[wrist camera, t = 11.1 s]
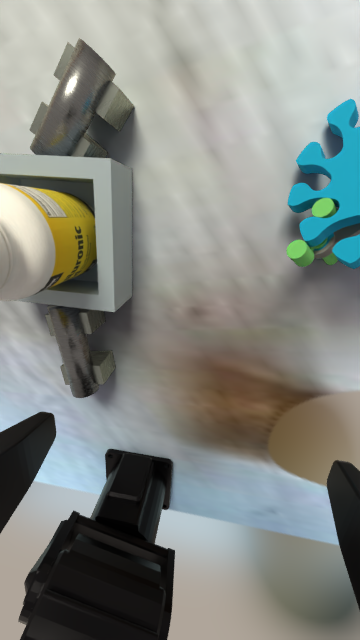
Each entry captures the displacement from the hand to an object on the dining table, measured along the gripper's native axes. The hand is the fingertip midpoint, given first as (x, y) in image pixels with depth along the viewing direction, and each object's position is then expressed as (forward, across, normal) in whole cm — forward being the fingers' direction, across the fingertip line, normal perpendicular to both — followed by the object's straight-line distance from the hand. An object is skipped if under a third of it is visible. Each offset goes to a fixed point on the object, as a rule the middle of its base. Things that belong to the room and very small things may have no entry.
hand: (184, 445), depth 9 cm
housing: (+12, +10, -5) cm, 17 cm away
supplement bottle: (+12, +10, -5) cm, 16 cm away
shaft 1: (+12, +8, -12) cm, 19 cm away
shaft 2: (+12, +9, +3) cm, 16 cm away
